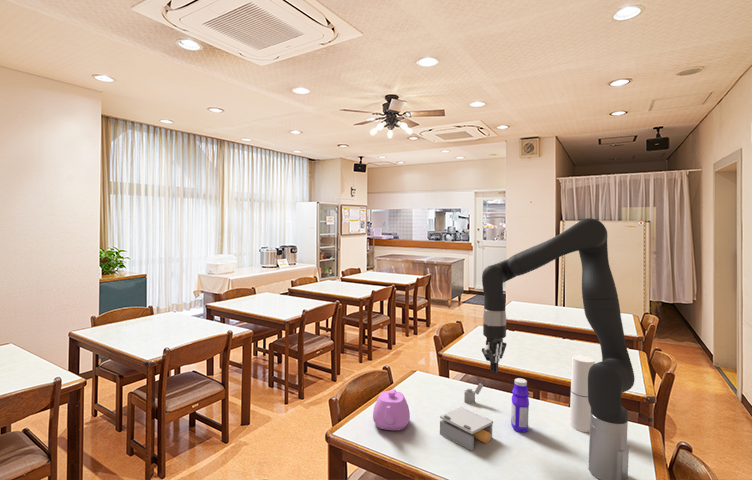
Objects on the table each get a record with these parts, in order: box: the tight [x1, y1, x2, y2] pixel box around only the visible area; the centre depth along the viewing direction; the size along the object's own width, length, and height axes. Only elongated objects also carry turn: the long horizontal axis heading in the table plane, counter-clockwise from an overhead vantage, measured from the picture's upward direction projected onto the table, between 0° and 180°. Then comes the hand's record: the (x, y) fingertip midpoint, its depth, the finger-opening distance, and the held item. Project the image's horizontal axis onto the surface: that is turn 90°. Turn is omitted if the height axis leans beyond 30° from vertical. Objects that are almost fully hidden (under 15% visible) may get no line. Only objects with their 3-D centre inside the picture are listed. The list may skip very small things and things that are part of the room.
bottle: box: [510, 377, 530, 433], centre depth 134 cm, size 7×6×17 cm
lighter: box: [463, 382, 484, 404], centre depth 153 cm, size 7×2×8 cm, turn 79°
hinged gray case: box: [439, 419, 493, 452], centre depth 129 cm, size 13×12×4 cm
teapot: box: [372, 388, 411, 431], centre depth 135 cm, size 20×13×12 cm, turn 172°
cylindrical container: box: [569, 354, 596, 433], centre depth 135 cm, size 7×7×25 cm
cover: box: [439, 406, 494, 434], centre depth 129 cm, size 13×12×1 cm
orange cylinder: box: [464, 429, 492, 444], centre depth 128 cm, size 8×4×4 cm, turn 39°
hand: (494, 372), depth 129 cm, fingers closed
